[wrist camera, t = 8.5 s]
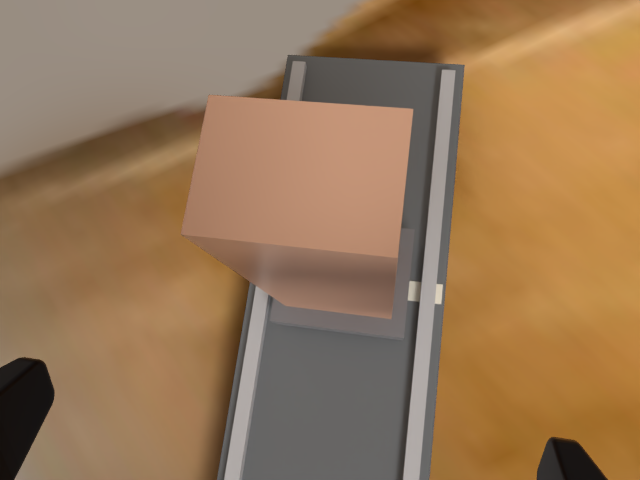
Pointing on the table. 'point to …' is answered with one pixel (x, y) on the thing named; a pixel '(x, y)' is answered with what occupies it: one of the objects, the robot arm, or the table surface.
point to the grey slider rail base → (351, 349)
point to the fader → (308, 208)
